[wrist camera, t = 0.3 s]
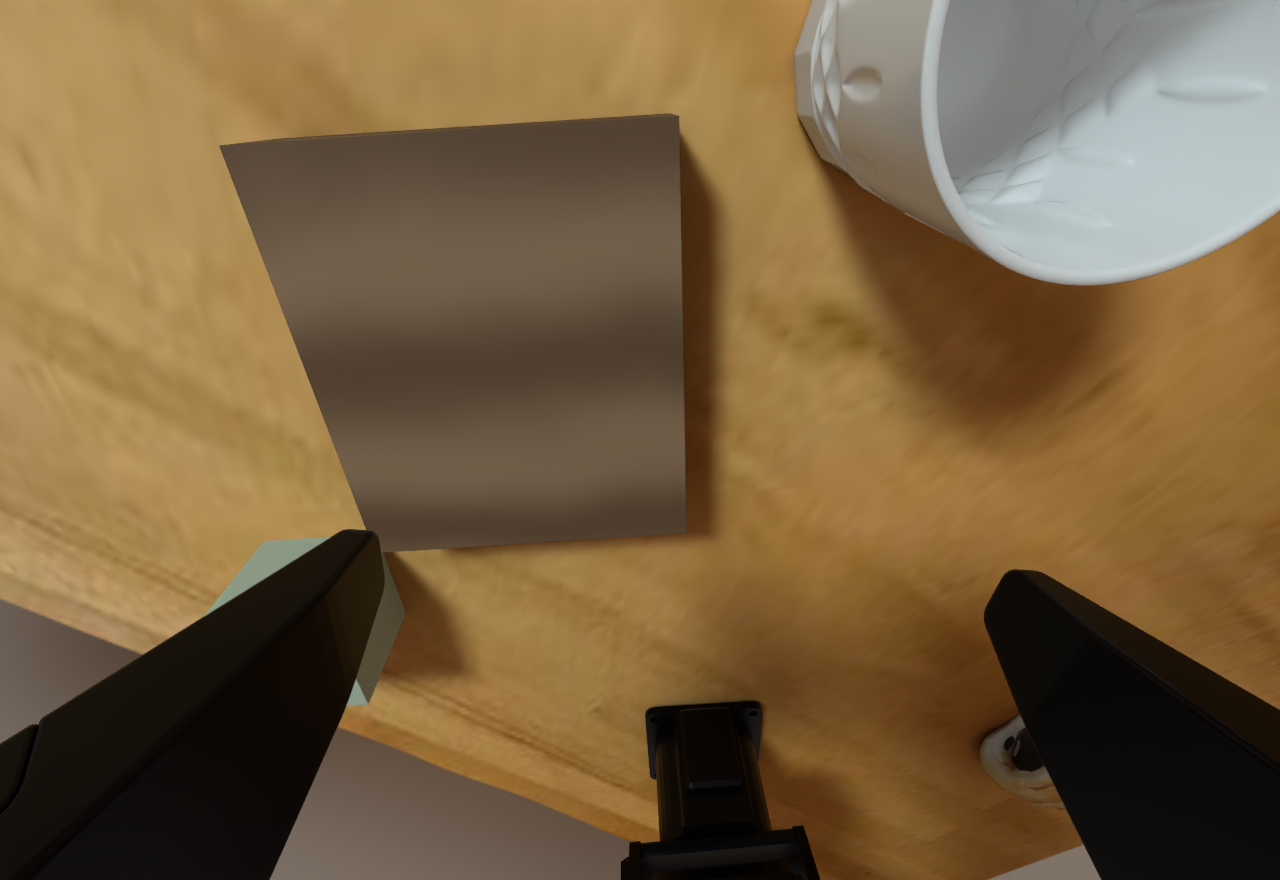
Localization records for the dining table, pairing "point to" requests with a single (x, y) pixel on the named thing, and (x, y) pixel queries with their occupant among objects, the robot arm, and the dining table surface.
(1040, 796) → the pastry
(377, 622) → the sage cube
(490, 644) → the dining table surface
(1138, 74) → the white cup
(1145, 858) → the robot arm
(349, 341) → the walnut block
